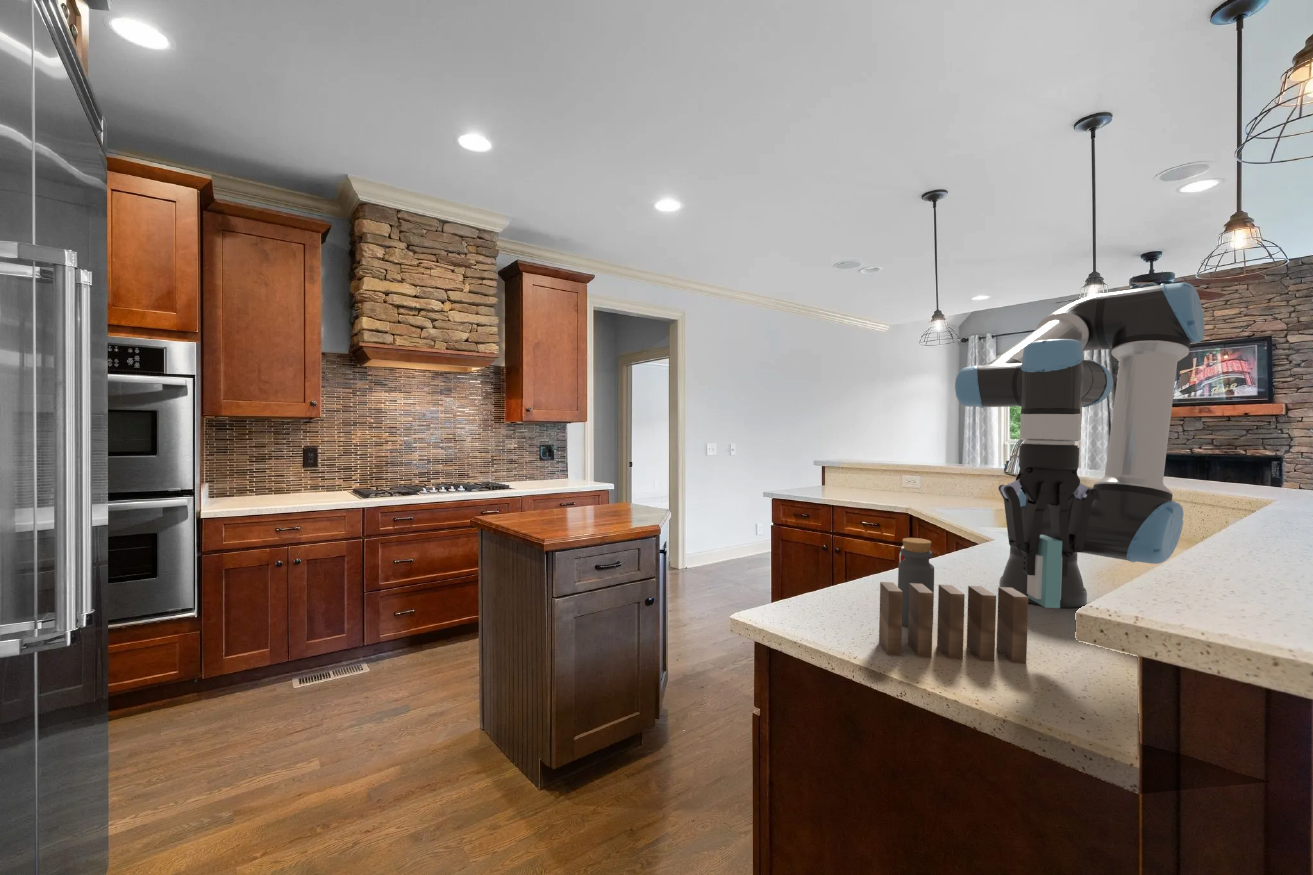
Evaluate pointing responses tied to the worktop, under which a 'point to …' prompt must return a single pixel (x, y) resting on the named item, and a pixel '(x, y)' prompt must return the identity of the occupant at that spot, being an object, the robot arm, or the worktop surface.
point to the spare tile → (1050, 572)
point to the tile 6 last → (890, 618)
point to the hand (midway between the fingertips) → (1043, 596)
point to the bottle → (914, 570)
